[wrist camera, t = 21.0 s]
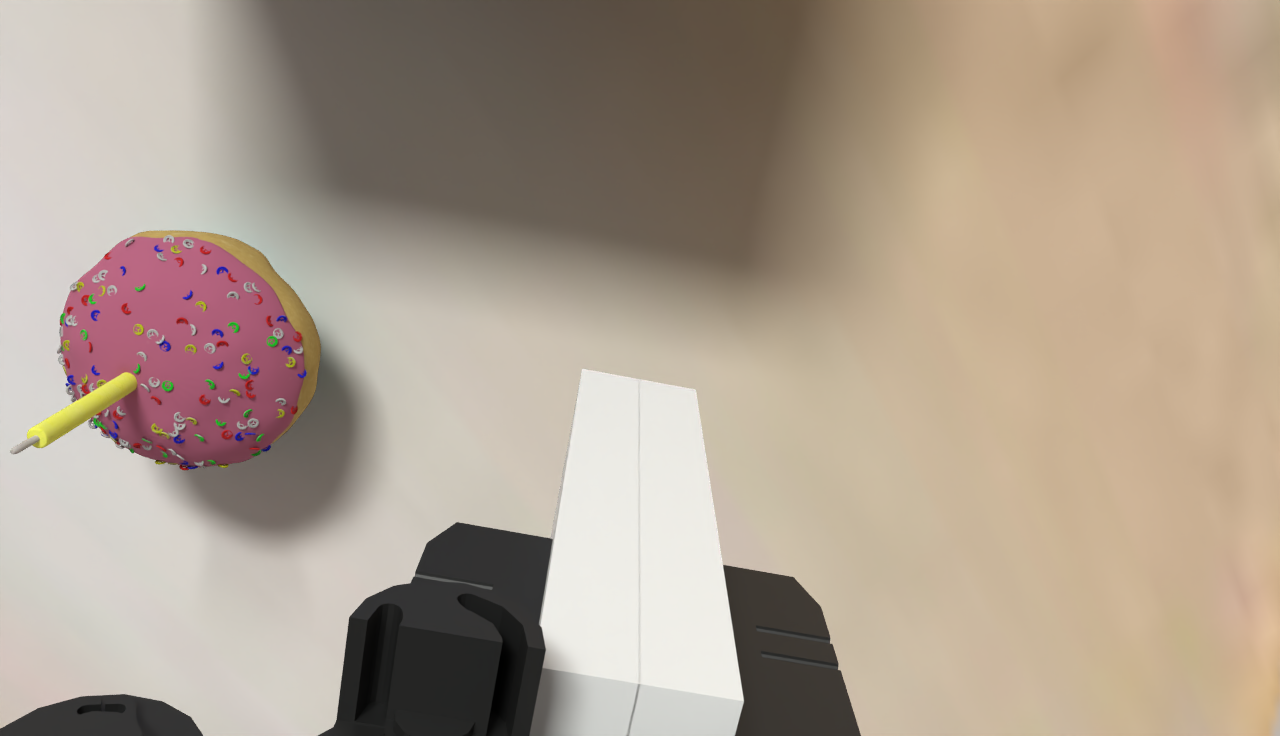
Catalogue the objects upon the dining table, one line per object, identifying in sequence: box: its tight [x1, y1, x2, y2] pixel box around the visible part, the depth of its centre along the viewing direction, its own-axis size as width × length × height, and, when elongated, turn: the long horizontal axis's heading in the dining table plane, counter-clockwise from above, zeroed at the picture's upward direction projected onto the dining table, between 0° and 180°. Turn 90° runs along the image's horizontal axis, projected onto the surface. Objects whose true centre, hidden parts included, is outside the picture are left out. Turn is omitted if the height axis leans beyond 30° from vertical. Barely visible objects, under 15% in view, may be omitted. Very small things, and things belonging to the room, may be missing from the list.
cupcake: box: [10, 231, 321, 470], centre depth 35 cm, size 9×8×12 cm
